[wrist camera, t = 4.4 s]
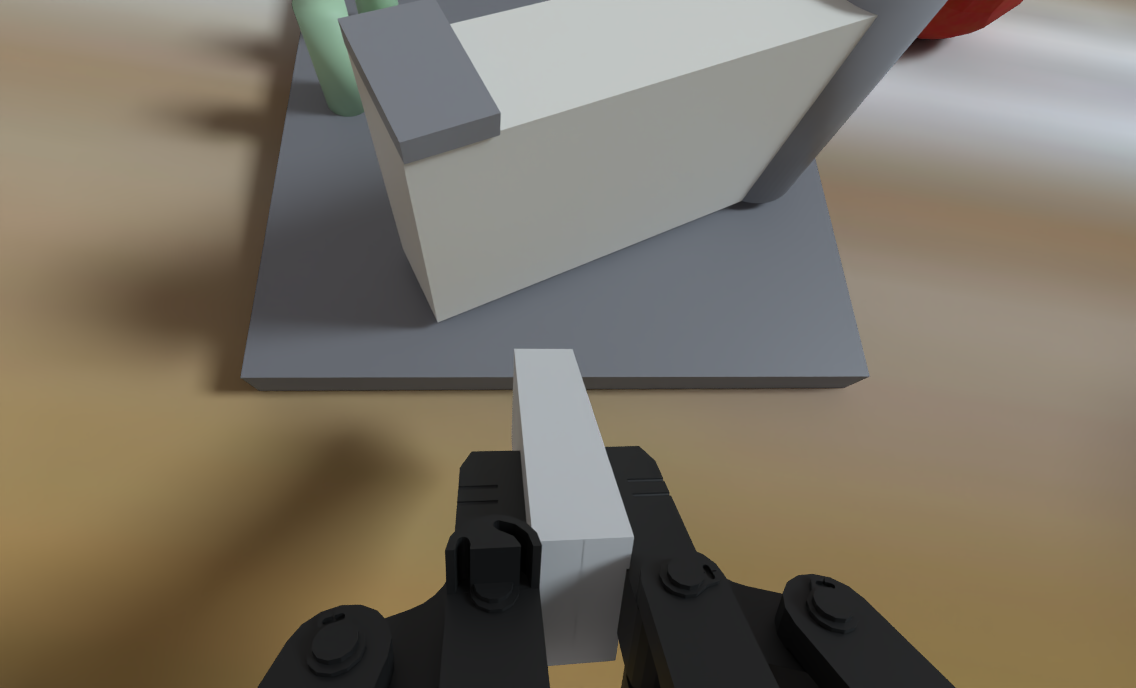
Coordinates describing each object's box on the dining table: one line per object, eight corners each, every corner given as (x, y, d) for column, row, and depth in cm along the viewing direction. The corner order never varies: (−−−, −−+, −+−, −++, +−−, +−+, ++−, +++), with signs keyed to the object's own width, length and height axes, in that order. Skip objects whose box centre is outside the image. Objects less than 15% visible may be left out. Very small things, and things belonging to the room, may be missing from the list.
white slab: (758, 112, 23) (912, -135, 15) (812, 184, 22) (1009, -36, 14) (397, 237, 19) (324, -16, 10) (443, 335, 18) (404, 143, 9)
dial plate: (756, 5, 29) (814, -113, 23) (844, 387, 21) (957, 337, 16) (328, -41, 25) (288, -188, 20) (259, 390, 18) (170, 329, 13)
